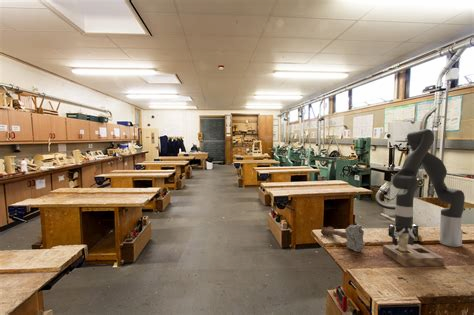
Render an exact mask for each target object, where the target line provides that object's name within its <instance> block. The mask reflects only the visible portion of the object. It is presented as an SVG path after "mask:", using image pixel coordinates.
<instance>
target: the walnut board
mask: <svg viewBox="0 0 474 315" xmlns="http://www.w3.org/2000/svg"><path fill="white" fill-rule="evenodd" d="M407 250H408V252H407V253H400V252H399V251H398V244H397V246H395V245H393V244H382V253H384V254H385V255H387V257H389V258H391V259H393V260H394V261H396V263H399V264H400V265H401V266H403V267H404V268H408V267H409V268H411V267H412V268H413V267H442V266H443V267H444V266H445V257H444V256H442V255H440V254H438V253H436V252H434V251H432V250H430V249H428V248H426V247H424V246H423V245H421V244H419V243H414V244H413V245H410V244H409V243H408V247H407Z"/></svg>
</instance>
